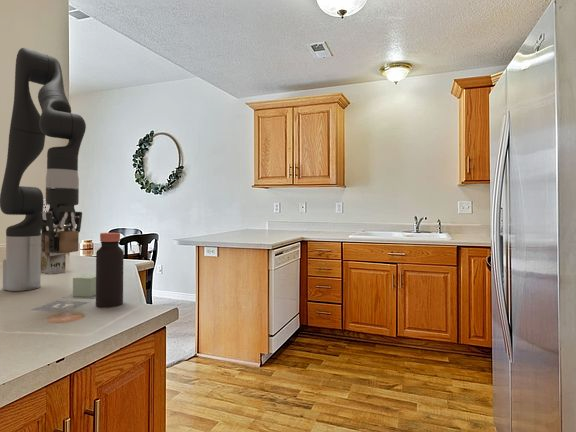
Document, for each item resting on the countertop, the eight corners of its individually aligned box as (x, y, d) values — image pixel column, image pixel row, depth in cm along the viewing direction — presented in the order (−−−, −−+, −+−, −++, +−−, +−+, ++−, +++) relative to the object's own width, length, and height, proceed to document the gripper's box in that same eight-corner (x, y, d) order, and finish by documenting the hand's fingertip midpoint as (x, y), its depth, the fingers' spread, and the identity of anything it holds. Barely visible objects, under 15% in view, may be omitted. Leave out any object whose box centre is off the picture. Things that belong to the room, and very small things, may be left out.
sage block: (72, 296, 110) (72, 277, 110) (84, 292, 115) (84, 274, 115) (90, 297, 110) (90, 278, 109) (101, 292, 115) (101, 275, 115)
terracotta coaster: (37, 323, 85) (37, 321, 85) (60, 314, 93) (60, 311, 93) (70, 325, 85) (70, 322, 85) (91, 315, 93) (91, 312, 93)
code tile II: (60, 299, 108) (60, 297, 108) (81, 291, 118) (81, 290, 118) (93, 300, 107) (93, 299, 107) (112, 292, 117) (112, 291, 117)
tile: (29, 311, 95) (29, 310, 95) (56, 302, 105) (56, 300, 105) (67, 313, 94) (67, 311, 94) (90, 303, 104) (90, 301, 104)
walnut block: (44, 252, 97) (45, 231, 96) (59, 250, 102) (59, 230, 102) (65, 253, 96) (65, 232, 96) (78, 251, 102) (78, 231, 102)
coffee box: (66, 272, 152) (66, 232, 152) (49, 274, 147) (49, 233, 146) (55, 269, 157) (55, 231, 157) (38, 271, 151) (38, 232, 151)
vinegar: (90, 306, 101) (91, 233, 101) (114, 301, 106) (115, 232, 106) (103, 310, 97) (104, 234, 97) (128, 305, 103) (128, 233, 102)
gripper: (66, 188, 106) (66, 247, 107) (28, 185, 92) (28, 253, 92) (92, 188, 106) (91, 248, 106) (57, 185, 91) (57, 254, 92)
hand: (62, 250), depth 99 cm, fingers closed on walnut block, 5 cm apart
